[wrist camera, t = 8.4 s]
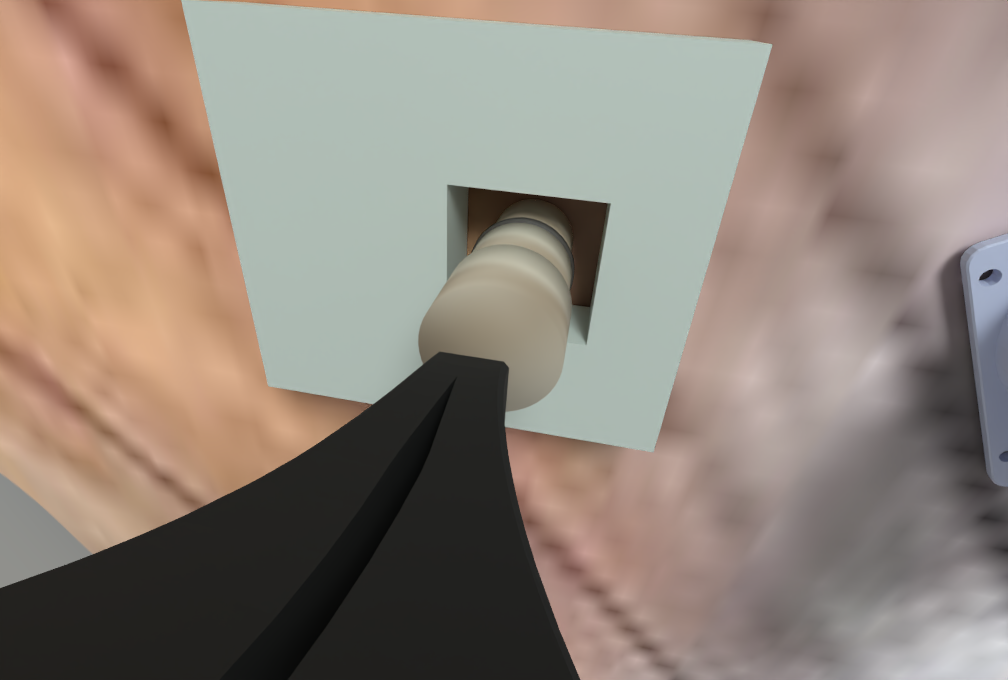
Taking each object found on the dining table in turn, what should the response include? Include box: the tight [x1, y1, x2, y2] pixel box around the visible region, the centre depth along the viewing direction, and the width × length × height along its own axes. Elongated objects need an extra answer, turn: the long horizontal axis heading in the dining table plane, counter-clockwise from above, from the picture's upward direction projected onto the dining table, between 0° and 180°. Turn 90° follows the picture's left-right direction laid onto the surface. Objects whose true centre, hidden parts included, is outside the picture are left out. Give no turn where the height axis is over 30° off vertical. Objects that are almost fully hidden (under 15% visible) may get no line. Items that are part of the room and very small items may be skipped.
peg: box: [418, 199, 574, 412], centre depth 14 cm, size 3×3×7 cm
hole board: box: [181, 0, 772, 452], centre depth 16 cm, size 14×12×2 cm
